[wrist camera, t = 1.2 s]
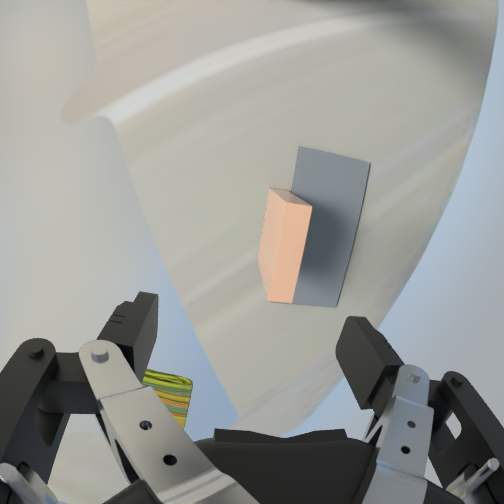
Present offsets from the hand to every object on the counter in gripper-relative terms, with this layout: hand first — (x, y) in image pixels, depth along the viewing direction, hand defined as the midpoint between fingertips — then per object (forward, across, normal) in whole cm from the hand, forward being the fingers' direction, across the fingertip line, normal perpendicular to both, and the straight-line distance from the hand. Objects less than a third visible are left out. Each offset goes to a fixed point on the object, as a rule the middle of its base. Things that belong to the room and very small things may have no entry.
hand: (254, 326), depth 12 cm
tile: (+28, +5, -2) cm, 29 cm away
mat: (+28, +12, -2) cm, 30 cm away
